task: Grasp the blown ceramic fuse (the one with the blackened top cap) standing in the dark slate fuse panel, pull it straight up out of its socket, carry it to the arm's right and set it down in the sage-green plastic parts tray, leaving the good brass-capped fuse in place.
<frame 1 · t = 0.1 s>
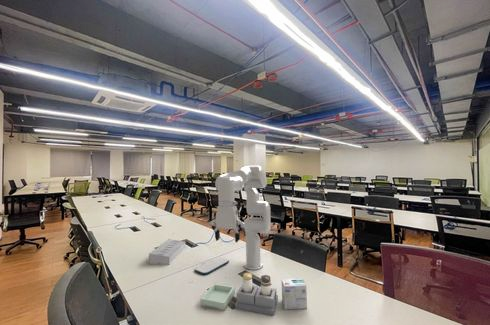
hand: (227, 240, 100), 31 cm above the table, fingers open, 9 cm apart
warehouse: (168, 256, 162), on the table
fuse panel: (257, 303, 102), on the table
external hard drive: (212, 267, 142), on the table
parts tray: (218, 299, 106), on the table
light bulb box: (294, 305, 101), on the table
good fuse: (247, 297, 104), point 2 cm above the table, touching fuse panel
blown fuse: (266, 301, 101), point 2 cm above the table, touching fuse panel
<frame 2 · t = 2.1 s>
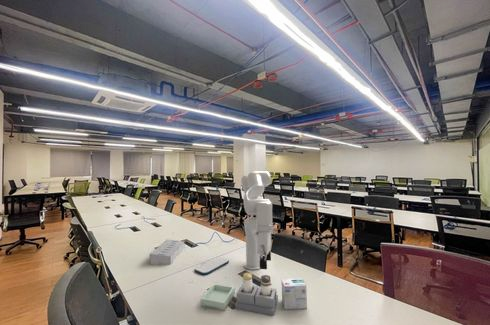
hand: (265, 264, 101), 19 cm above the table, fingers open, 9 cm apart
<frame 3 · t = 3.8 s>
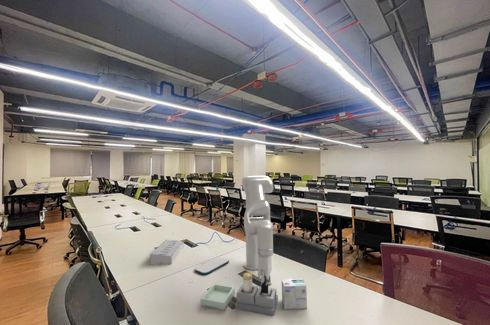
hand: (265, 289, 101), 7 cm above the table, fingers closed on blown fuse, 4 cm apart
blown fuse: (266, 301, 101), point 2 cm above the table, touching fuse panel, gripper
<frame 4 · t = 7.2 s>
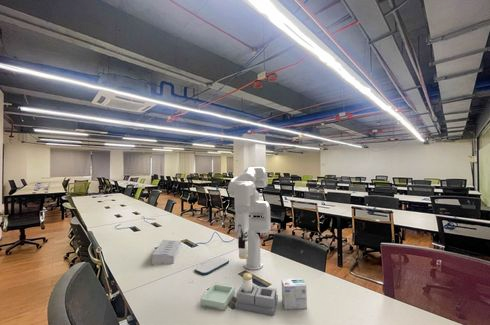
hand: (243, 245, 104), 27 cm above the table, fingers closed on blown fuse, 4 cm apart
blown fuse: (243, 257, 104), point 22 cm above the table, touching gripper
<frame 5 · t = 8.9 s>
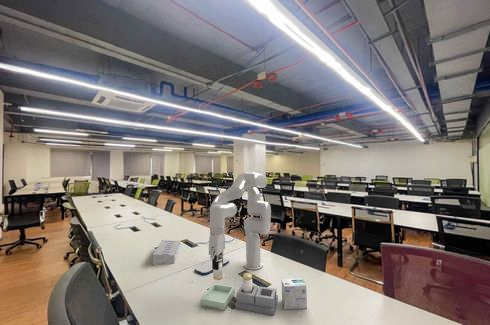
hand: (217, 266, 106), 16 cm above the table, fingers closed on blown fuse, 4 cm apart
blown fuse: (217, 277, 106), point 11 cm above the table, touching gripper
when the fingers open (8 cm above the table, at t = 10.6 s): blown fuse drops 1 cm, resting on parts tray.
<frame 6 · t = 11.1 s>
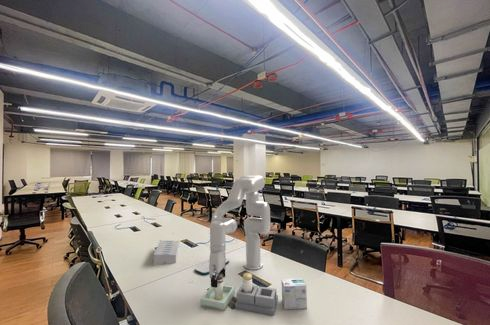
hand: (218, 281, 106), 9 cm above the table, fingers open, 9 cm apart
blown fuse: (218, 297, 106), point 1 cm above the table, touching parts tray
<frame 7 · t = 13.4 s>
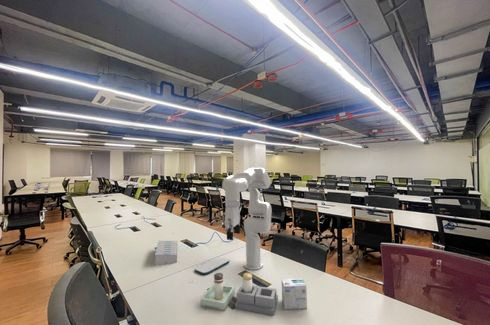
hand: (233, 236, 111), 29 cm above the table, fingers open, 9 cm apart
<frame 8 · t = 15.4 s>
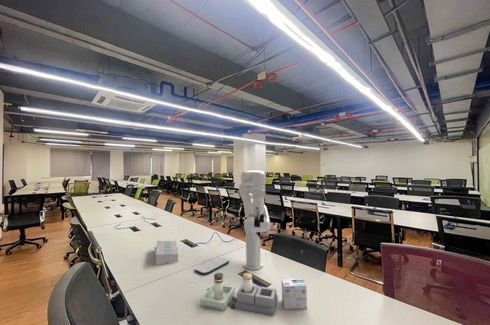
hand: (259, 224, 119), 33 cm above the table, fingers open, 9 cm apart
at the end: blown fuse inside the target area on the parts tray (0.2 cm from its centre), point 1.0 cm above the parts tray's base; the gripper is holding nothing; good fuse moved 0.0 cm from its start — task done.
